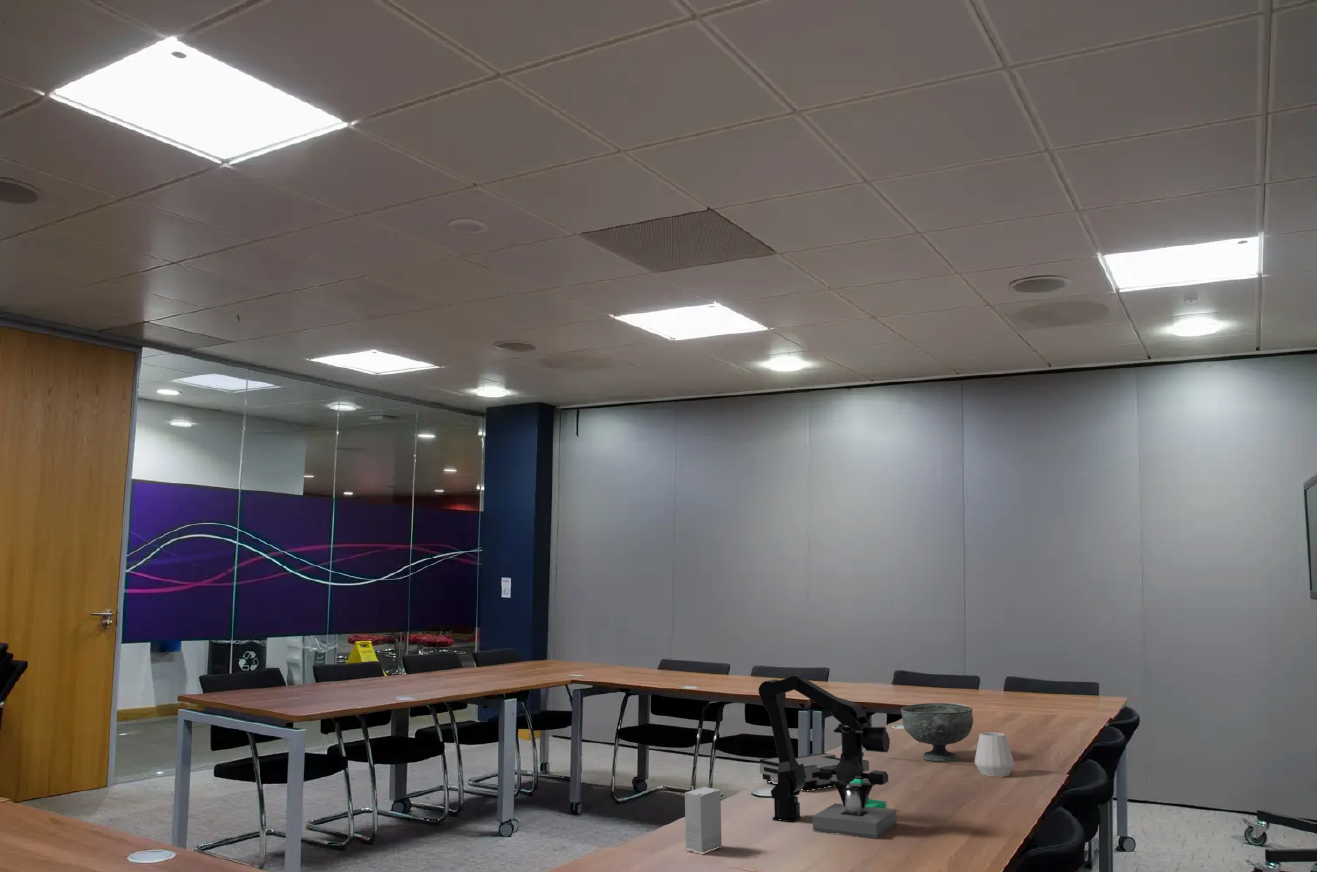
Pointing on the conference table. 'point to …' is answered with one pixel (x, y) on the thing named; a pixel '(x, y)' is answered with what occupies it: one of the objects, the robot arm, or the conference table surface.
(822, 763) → the game console
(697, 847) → the skincare box
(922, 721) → the decorative bowl
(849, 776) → the robot arm
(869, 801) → the camera mount
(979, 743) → the white faceted vase
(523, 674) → the conference table surface
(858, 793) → the tube
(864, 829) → the mount block
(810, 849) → the conference table surface
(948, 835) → the conference table surface
